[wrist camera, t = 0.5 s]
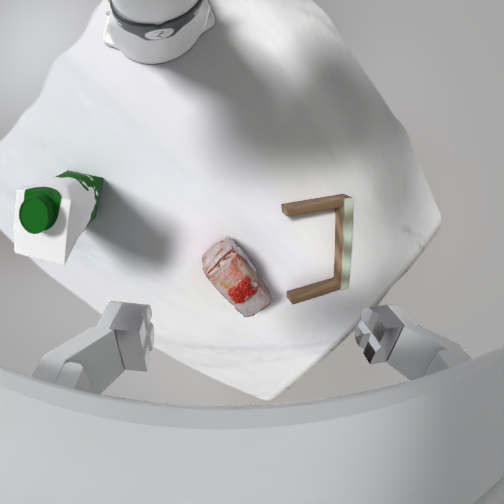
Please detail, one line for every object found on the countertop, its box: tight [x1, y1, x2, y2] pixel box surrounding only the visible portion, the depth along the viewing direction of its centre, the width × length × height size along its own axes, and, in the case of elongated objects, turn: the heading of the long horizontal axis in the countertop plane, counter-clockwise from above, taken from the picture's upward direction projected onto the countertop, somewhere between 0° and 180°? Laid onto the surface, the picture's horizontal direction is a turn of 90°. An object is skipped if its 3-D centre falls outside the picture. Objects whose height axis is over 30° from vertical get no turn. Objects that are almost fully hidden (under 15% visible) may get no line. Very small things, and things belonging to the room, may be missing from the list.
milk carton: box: [14, 170, 103, 265], centre depth 30 cm, size 9×9×20 cm
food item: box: [202, 236, 273, 317], centre depth 49 cm, size 14×8×10 cm, turn 34°
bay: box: [282, 194, 353, 304], centre depth 56 cm, size 21×14×4 cm, turn 5°
